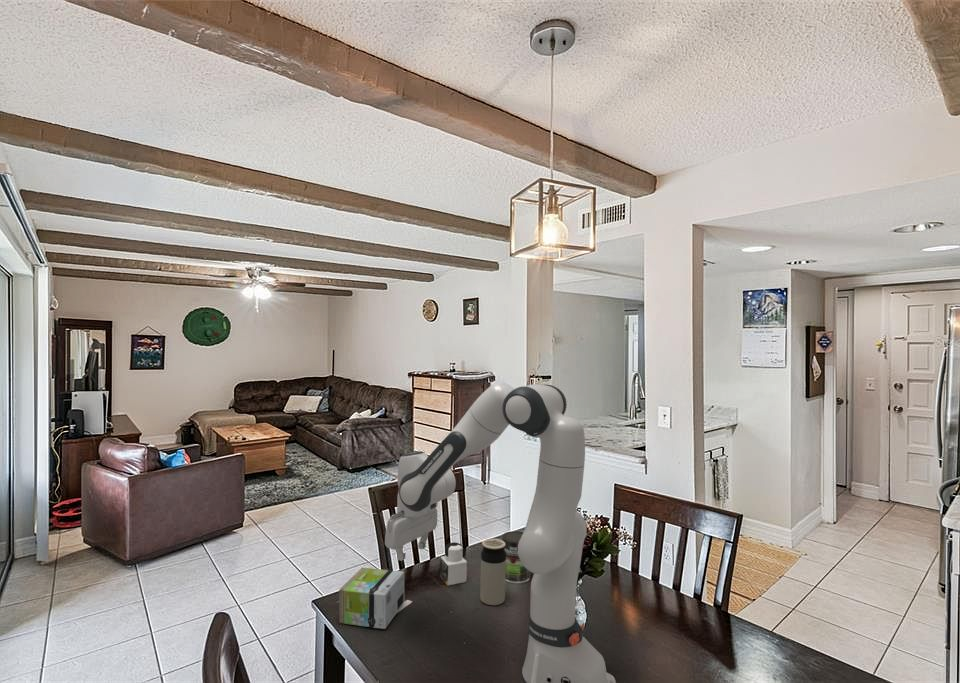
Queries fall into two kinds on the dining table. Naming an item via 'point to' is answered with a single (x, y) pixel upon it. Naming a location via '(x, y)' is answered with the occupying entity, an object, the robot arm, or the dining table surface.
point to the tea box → (371, 598)
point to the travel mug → (493, 572)
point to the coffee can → (514, 559)
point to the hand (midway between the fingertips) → (411, 553)
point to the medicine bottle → (453, 565)
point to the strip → (404, 605)
